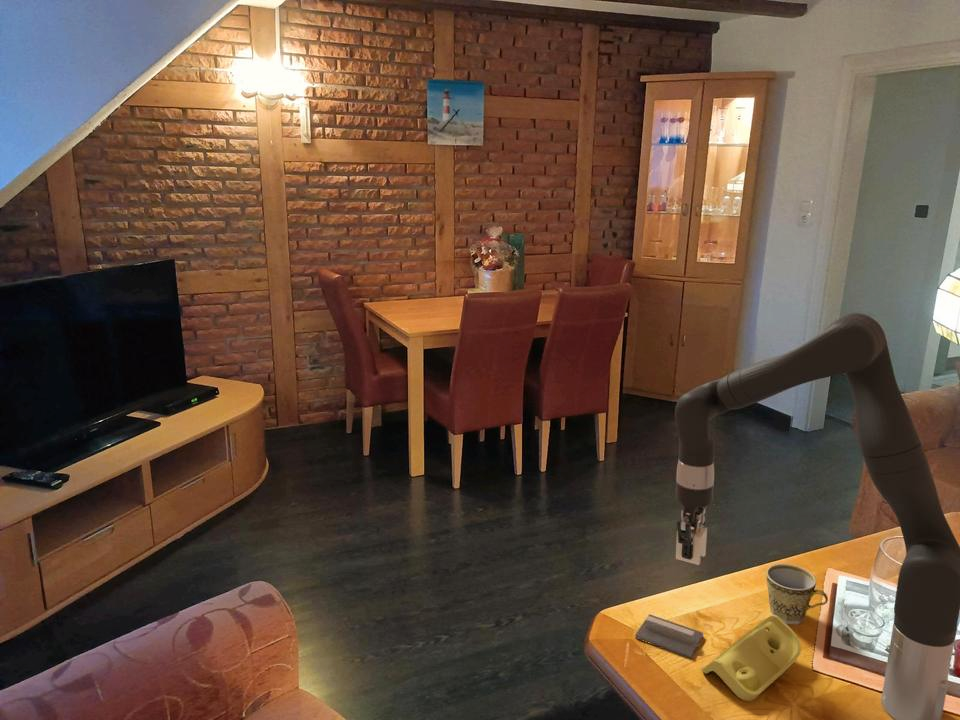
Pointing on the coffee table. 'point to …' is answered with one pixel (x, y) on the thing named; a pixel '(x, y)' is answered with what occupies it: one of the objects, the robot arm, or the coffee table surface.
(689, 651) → the panel
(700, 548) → the block
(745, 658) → the plastic component
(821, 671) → the coffee table surface
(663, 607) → the coffee table surface
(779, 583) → the ceramic cup
